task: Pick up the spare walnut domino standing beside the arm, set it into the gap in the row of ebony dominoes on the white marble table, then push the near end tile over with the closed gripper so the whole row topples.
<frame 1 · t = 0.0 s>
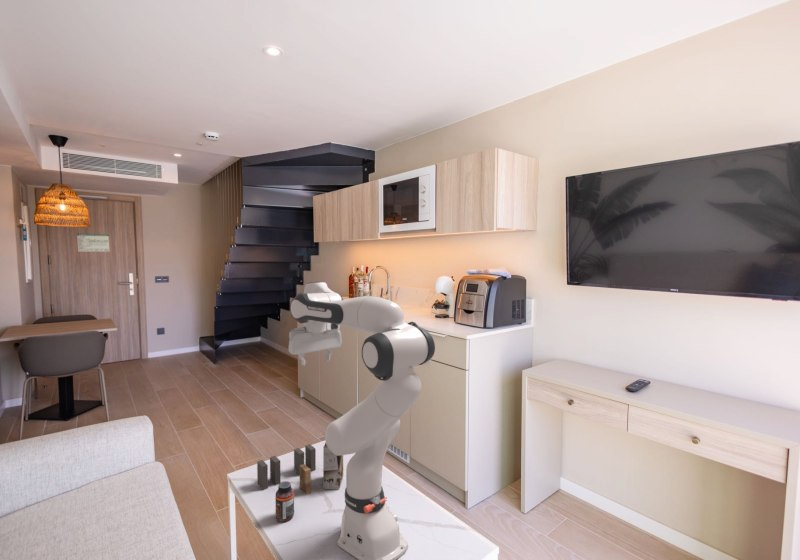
hand: (316, 362, 145), 48 cm above the table, fingers open, 8 cm apart
domino b: (299, 472, 159), on the table
coffee box: (333, 483, 152), on the table
domino d: (275, 481, 152), on the table
domino e: (262, 486, 149), on the table
supplement bottle: (284, 517, 132), on the table
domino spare: (305, 491, 146), on the table
domino a: (310, 468, 162), on the table
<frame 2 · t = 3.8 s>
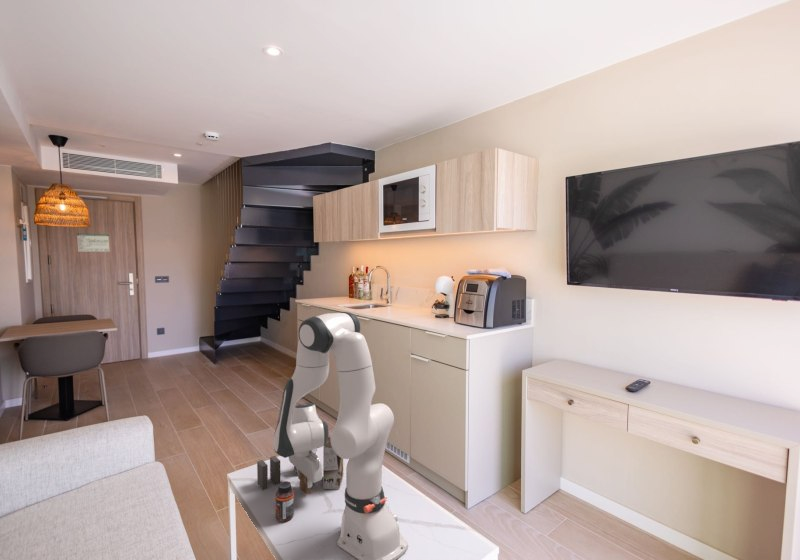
hand: (305, 482, 146), 3 cm above the table, fingers closed on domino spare, 5 cm apart
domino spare: (305, 490, 146), on the table, touching gripper
everything else where it was.
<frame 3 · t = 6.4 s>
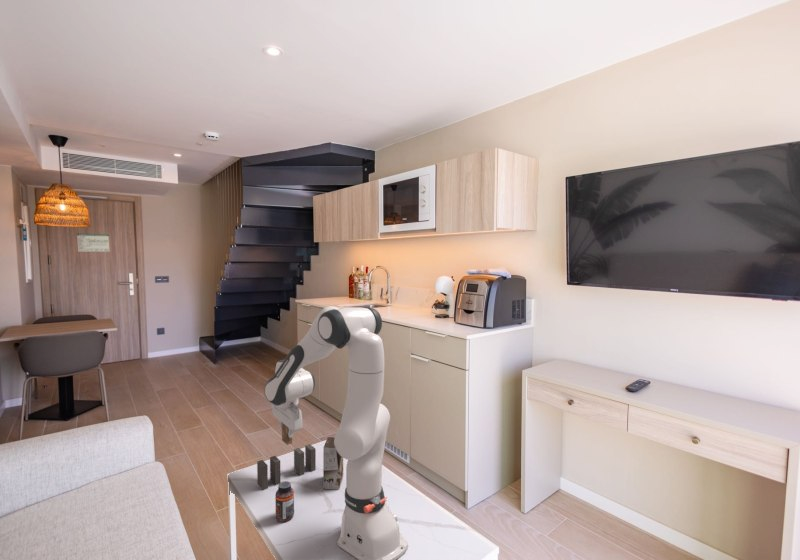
hand: (287, 434, 155), 17 cm above the table, fingers closed on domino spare, 5 cm apart
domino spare: (286, 441, 155), point 14 cm above the table, touching gripper
everything else where it was.
when the fingers open (4 cm above the table, at t = 9.1 s): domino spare stays where it is, on the table.
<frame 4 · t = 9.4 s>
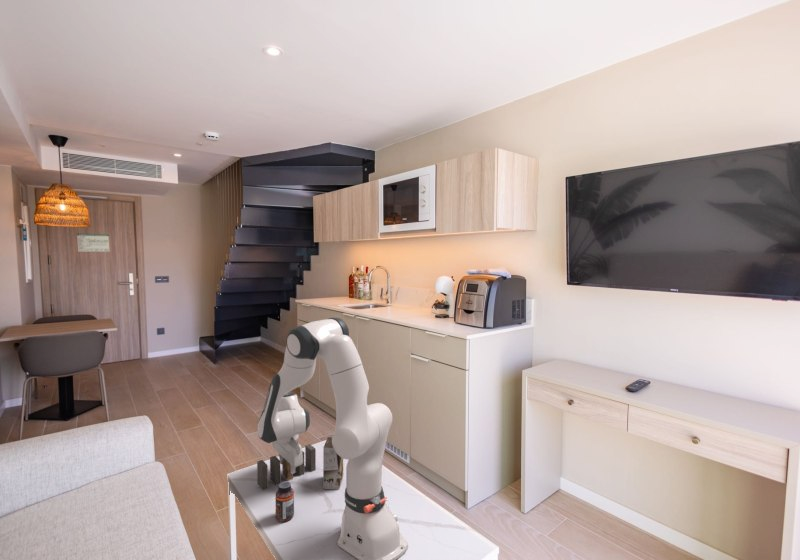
hand: (287, 468, 155), 4 cm above the table, fingers open, 7 cm apart
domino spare: (287, 477, 156), on the table
everything else where it was.
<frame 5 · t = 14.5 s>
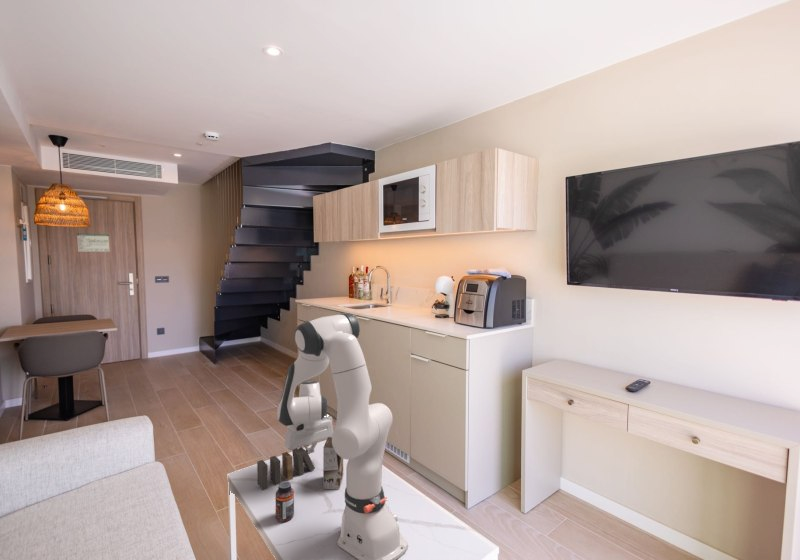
hand: (310, 452, 162), 7 cm above the table, fingers closed
domino a: (310, 467, 162), on the table, tilted 24°
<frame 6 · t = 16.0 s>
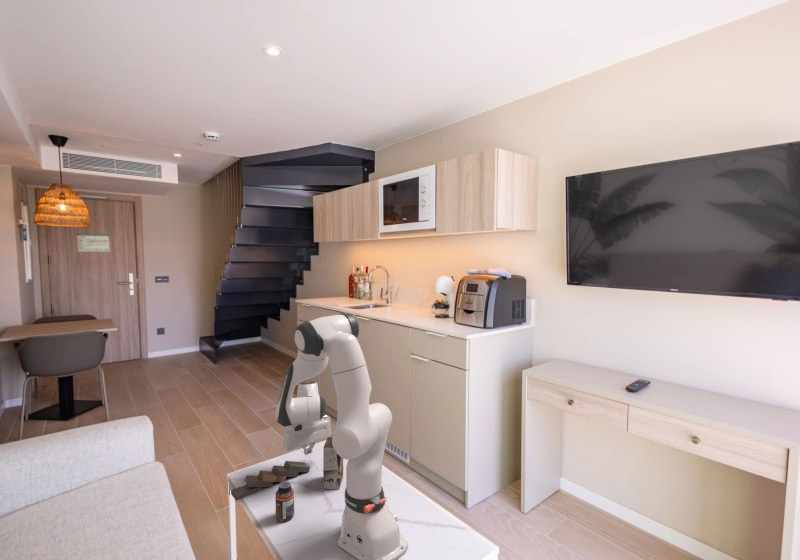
hand: (308, 453, 161), 7 cm above the table, fingers closed
domino b: (295, 471, 158), point 1 cm above the table, tilted 67°, touching domino a, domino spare
domino d: (269, 481, 151), point 1 cm above the table, tilted 68°, touching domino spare
domino e: (258, 486, 148), point 1 cm above the table, tilted 90°
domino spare: (282, 476, 154), point 1 cm above the table, tilted 67°, touching domino b, domino d
domino a: (306, 467, 161), point 1 cm above the table, tilted 67°, touching domino b
everything else where it was.
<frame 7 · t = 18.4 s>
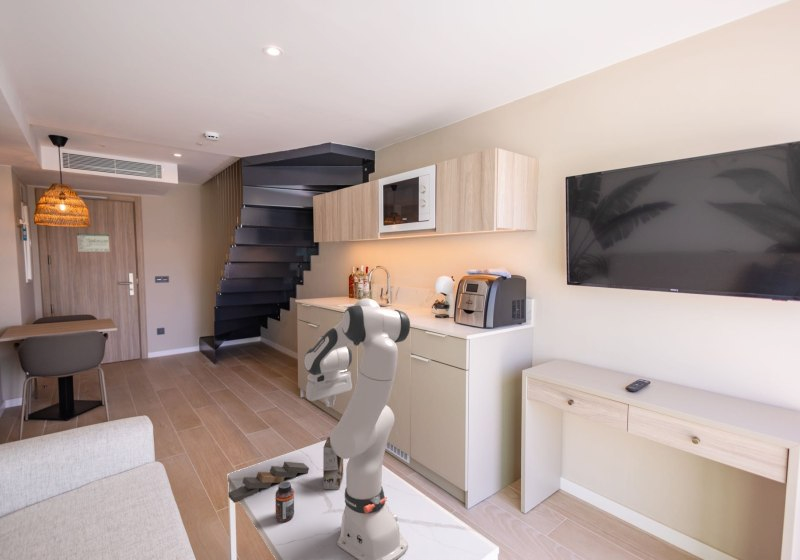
hand: (330, 406, 164), 25 cm above the table, fingers closed
domino d: (267, 482, 150), point 1 cm above the table, tilted 68°, touching domino e, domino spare
domino e: (255, 487, 147), point 1 cm above the table, tilted 90°, touching domino d
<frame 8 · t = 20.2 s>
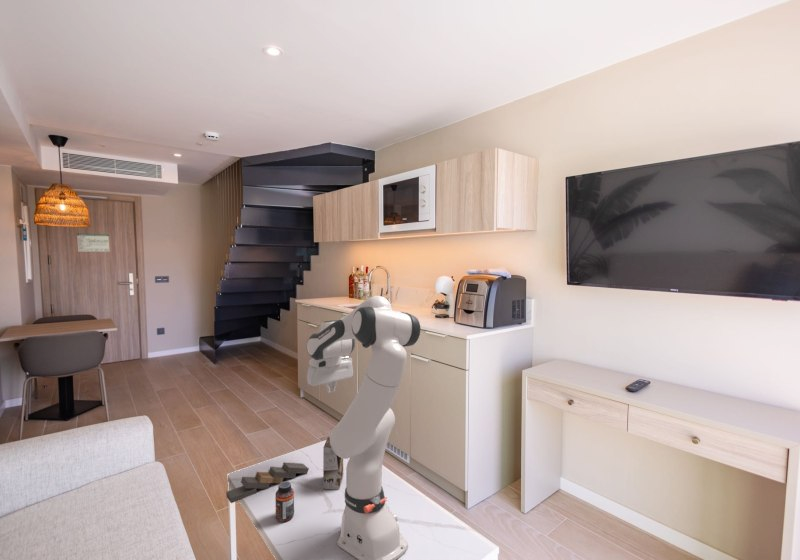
hand: (331, 391, 163), 31 cm above the table, fingers closed
domino d: (266, 482, 150), point 1 cm above the table, tilted 68°, touching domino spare
domino e: (253, 488, 147), point 1 cm above the table, tilted 90°
at the end: domino e tilted 90°; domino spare tilted 68°; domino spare inside the target area (1.3 cm from its centre), point 0.9 cm above the table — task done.
